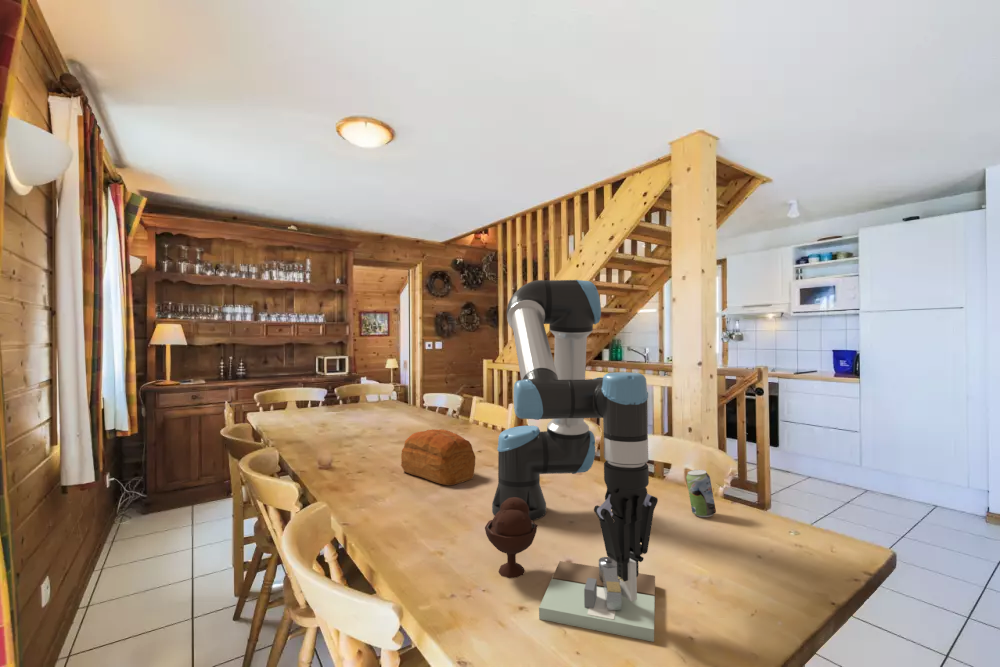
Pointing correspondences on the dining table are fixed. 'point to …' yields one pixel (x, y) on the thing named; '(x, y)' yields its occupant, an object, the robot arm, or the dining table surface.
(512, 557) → the ice cream bowl
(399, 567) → the dining table surface
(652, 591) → the strip
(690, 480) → the beverage can
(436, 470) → the bread
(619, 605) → the bar
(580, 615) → the door slab
